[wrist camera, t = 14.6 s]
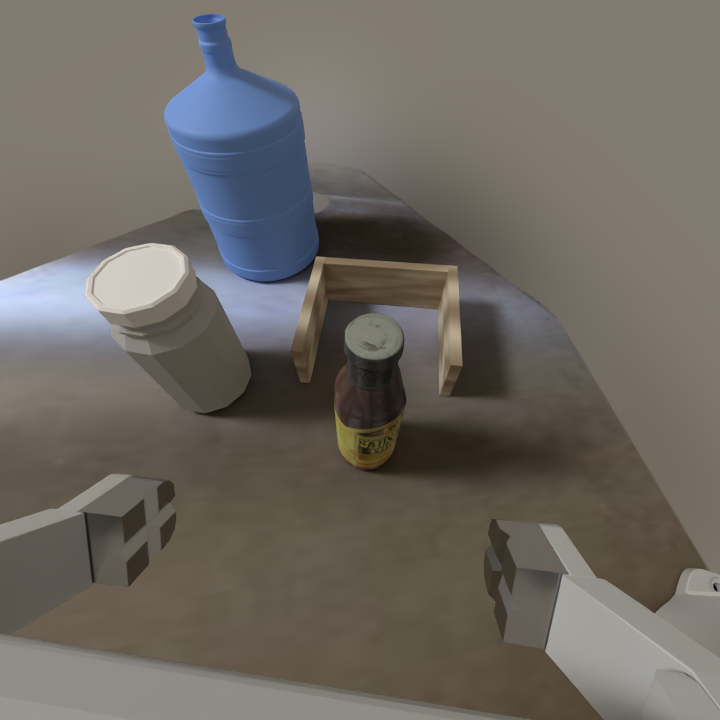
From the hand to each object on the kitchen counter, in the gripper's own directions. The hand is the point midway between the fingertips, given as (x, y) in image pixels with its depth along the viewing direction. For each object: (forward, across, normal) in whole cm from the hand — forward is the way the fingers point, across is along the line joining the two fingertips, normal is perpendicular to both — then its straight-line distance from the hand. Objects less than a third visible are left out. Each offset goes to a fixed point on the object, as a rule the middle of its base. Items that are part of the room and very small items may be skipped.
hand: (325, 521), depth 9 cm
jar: (+33, +20, +7) cm, 40 cm away
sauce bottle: (+29, 0, +12) cm, 31 cm away
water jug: (+51, +19, -10) cm, 55 cm away
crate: (+39, 0, +2) cm, 39 cm away
